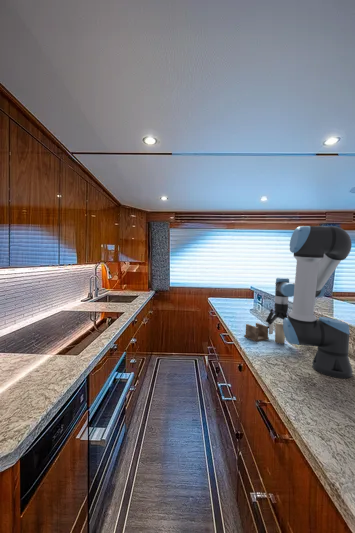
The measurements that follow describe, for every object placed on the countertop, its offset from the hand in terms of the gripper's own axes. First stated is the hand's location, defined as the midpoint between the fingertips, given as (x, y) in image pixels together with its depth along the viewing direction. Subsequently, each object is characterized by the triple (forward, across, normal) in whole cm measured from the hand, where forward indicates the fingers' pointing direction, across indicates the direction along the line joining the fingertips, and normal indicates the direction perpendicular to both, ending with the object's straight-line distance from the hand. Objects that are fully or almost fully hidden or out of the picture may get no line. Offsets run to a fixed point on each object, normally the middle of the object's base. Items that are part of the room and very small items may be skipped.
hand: (279, 337), depth 142 cm
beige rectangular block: (+3, 0, 0) cm, 3 cm away
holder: (+3, +11, +8) cm, 14 cm away
